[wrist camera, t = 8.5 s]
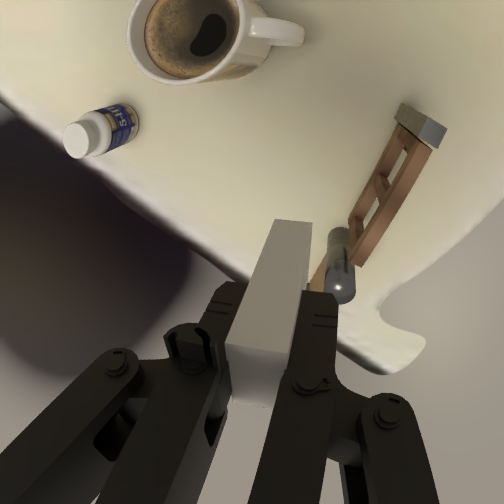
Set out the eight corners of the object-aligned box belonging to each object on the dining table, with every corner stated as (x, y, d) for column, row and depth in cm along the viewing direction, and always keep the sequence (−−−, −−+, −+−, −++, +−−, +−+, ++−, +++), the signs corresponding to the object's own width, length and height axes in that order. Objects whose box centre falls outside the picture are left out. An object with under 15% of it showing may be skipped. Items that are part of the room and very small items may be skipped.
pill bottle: (146, 115, 34) (99, 132, 27) (129, 150, 37) (85, 173, 30) (115, 95, 33) (66, 108, 26) (101, 130, 36) (54, 149, 29)
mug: (227, -24, 23) (182, -56, 14) (315, 41, 26) (306, 25, 17) (167, 46, 29) (106, 45, 20) (246, 110, 32) (208, 129, 22)
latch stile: (401, 103, 27) (427, 116, 19) (426, 118, 27) (460, 137, 19) (385, 137, 29) (404, 163, 21) (410, 150, 29) (436, 182, 21)
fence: (387, 118, 28) (409, 136, 20) (412, 131, 28) (441, 156, 20) (296, 292, 42) (283, 348, 34) (316, 300, 42) (308, 357, 34)
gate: (357, 223, 34) (361, 267, 27) (348, 218, 34) (349, 262, 27) (408, 129, 28) (432, 150, 20) (398, 124, 28) (420, 142, 20)
